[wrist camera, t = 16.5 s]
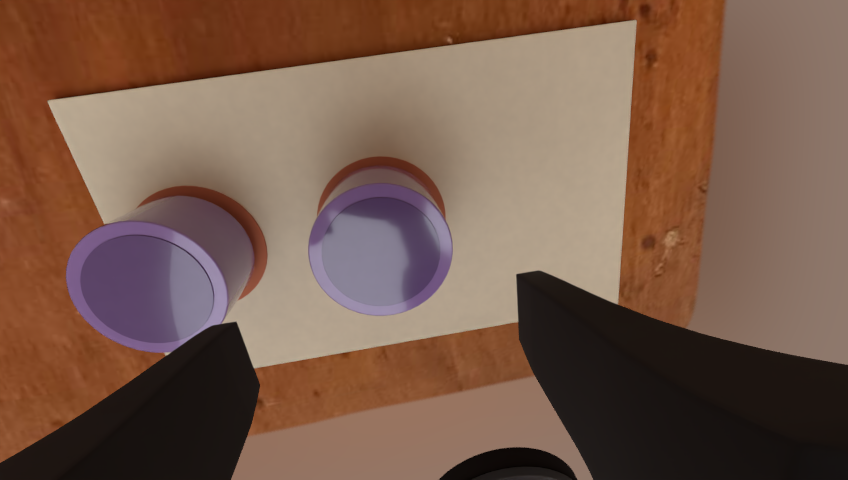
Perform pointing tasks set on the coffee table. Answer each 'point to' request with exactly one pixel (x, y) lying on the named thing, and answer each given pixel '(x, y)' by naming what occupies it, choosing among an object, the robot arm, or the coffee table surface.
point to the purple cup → (380, 242)
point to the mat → (396, 147)
